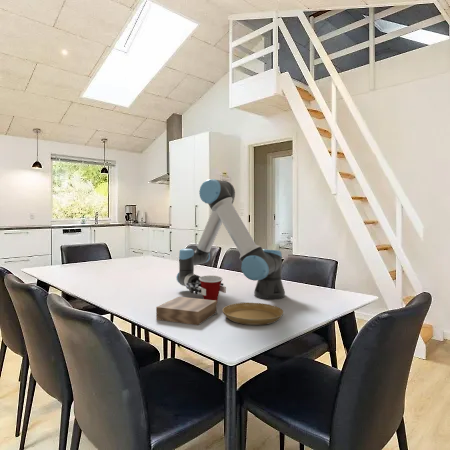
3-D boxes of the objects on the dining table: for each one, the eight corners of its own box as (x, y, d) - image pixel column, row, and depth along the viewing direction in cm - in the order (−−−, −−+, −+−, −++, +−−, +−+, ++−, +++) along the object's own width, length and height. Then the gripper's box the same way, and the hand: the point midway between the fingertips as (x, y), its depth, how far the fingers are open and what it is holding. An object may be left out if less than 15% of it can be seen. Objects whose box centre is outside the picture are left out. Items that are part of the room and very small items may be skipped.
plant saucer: (277, 309, 158) (277, 302, 158) (288, 327, 134) (289, 318, 134) (221, 309, 158) (221, 302, 157) (223, 328, 134) (223, 319, 133)
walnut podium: (216, 312, 153) (216, 300, 153) (198, 325, 136) (198, 311, 136) (178, 307, 159) (178, 296, 159) (156, 319, 143) (156, 306, 142)
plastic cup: (201, 307, 160) (201, 280, 160) (196, 301, 171) (196, 276, 170) (225, 305, 163) (225, 279, 163) (219, 300, 174) (219, 274, 173)
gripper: (213, 287, 188) (236, 296, 168) (173, 292, 177) (192, 302, 157) (213, 272, 187) (236, 280, 168) (173, 276, 177) (192, 285, 157)
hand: (215, 291), depth 163 cm, fingers open, 9 cm apart
